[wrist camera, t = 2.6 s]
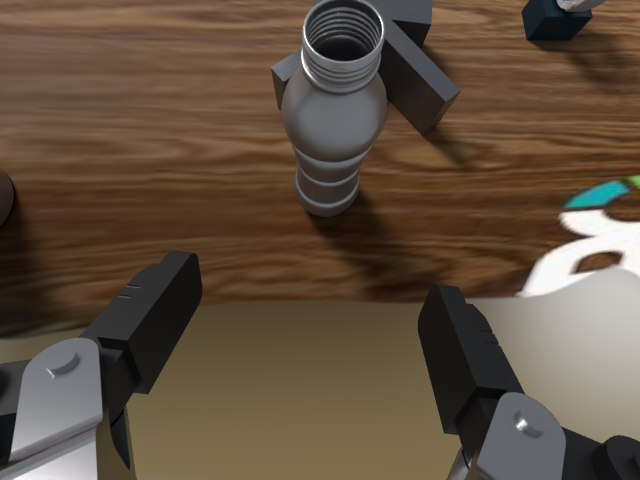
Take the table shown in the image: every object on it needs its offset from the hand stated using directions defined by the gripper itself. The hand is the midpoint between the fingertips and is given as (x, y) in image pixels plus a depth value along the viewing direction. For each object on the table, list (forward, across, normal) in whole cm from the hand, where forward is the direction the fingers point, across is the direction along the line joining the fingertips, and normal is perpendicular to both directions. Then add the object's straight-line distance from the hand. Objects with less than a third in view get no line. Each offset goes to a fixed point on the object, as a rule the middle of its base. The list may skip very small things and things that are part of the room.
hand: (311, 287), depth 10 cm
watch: (+41, -25, -12) cm, 49 cm away
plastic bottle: (+22, 0, +7) cm, 23 cm away
